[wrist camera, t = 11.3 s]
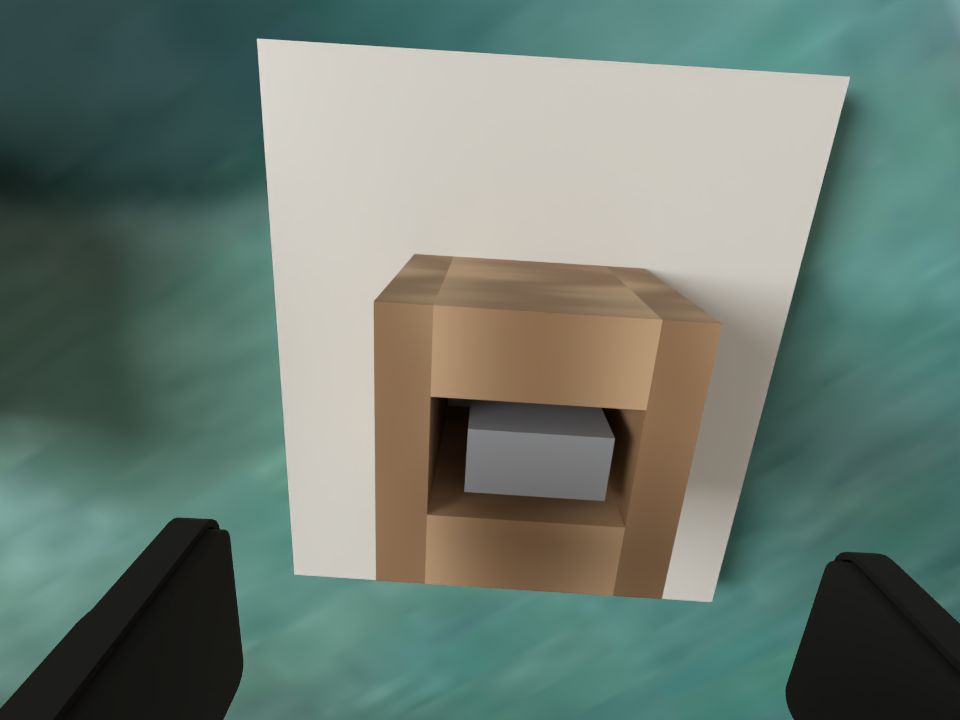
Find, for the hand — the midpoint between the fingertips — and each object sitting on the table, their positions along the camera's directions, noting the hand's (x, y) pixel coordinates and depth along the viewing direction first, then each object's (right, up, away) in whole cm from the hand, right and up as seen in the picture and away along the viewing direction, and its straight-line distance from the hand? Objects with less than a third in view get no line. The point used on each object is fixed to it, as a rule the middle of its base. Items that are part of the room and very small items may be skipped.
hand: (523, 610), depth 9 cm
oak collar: (+1, +4, +9) cm, 10 cm away
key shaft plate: (+1, +4, +11) cm, 11 cm away
